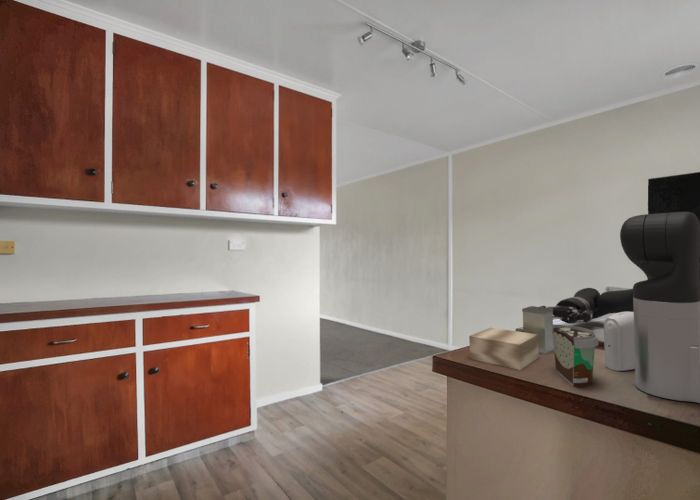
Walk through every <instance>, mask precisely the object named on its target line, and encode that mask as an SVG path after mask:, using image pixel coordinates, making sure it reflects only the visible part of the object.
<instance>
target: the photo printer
mask: <svg viewBox="0 0 700 500" xmlns="http://www.w3.org/2000/svg"><path fill="white" fill-rule="evenodd" d="M603 340H604V341H603V342H604V343H603V344H604V345H603V346H604V347H603V348H604V365H605V366H606V367H607V368H608V370H609V369H610V370H612V371H616V372H622V371H630V370H635V350H634V312H620V313H613V314H612V315H610V316H608V317H607V318H605V319H604V322H603Z"/></svg>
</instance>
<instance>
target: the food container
mask: <svg viewBox="0 0 700 500" xmlns="http://www.w3.org/2000/svg"><path fill="white" fill-rule="evenodd" d="M552 333H553V345H554V350H553V357H554V358H553V359H554V371H556V372H557V373H558V374H559V375H560V376H561V378H563V379H564V380H565V381H566V382H567V383H569V384H570V386H572V387H573V388H574V387H575V388H577V387H579V388H581V387H587V386H590V385H592V383H593V381H594V380H593V377H594V363H595V362H594V360H595V347H597V346H599V340H598V336H597V335H596V332H595V331H593V330H591V329H588V328H586V327H580V326H574V325H567V324H554V323H553V324H552Z"/></svg>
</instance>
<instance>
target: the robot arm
mask: <svg viewBox="0 0 700 500" xmlns="http://www.w3.org/2000/svg"><path fill="white" fill-rule="evenodd" d="M619 233H620V234H619V239H620V244H621V247H622V250H623V252H624V254H625V255H626V257H627V258H628V260H630V262H632V263H633V264H634V265H635V266H636V267H637V268H639V269H640V270H641V271H642V272H643V273H644V274H645V276H646V278H647V279H645V280H641V281H638V282H636V283H634V284H633V286H632V288H630V289H623V290H610V291H603V292H602V293H600V291H599V290H597V289H595V288H593V287H585V288H582V289H580V290H578V291H576V292H575V294H574V295H573V296H572V297H568V298H564V299H562V300H559V302H557V303H556V304H555V306H547V305H540V306H539V307H544V308H553V319H559V320H560V321H562V322H563V323H566V324H575V323H579V322H581V321H582V322H583V323H588V322H591V321H592V320H595V319H600V318H601V317H604V316H606V315H609V314H616V313H620V312H634V350H635V369H634V378H635V381H634V382H635V384H634V385H635V387H636V388H637V389H638V390H640V391H642V392H644V393H647V394H649V395H651V396H654V397H655V396H656V397H658V398H663V399H667V400H672V401H678V402H679V401H680V402H692V403H697V404H700V220H699V218H698V217H697V215H696V214H695V213H694V212H690V211H677V212H676V211H675V212H672V211H671V212H661V213H649V214H648V213H647V214H640V215H639V214H638V215H634V216H631V217H628V218H626V220H624V222H623V224H622V225H621V228H620V231H619Z"/></svg>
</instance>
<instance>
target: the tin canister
mask: <svg viewBox="0 0 700 500" xmlns="http://www.w3.org/2000/svg"><path fill="white" fill-rule="evenodd" d="M521 311H522V331H523V332H524V333H531V334H538V351H539V354H542V355H543V354H544V355H546V354H548V353H551V352H552V351H554V345H553V333H552V324H554V318H553V316H554V315H553V308H547V307H546V308H544V307H540V306H534V305H532V306H531V305H530V306H527V307H524V308H522V309H521Z"/></svg>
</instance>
